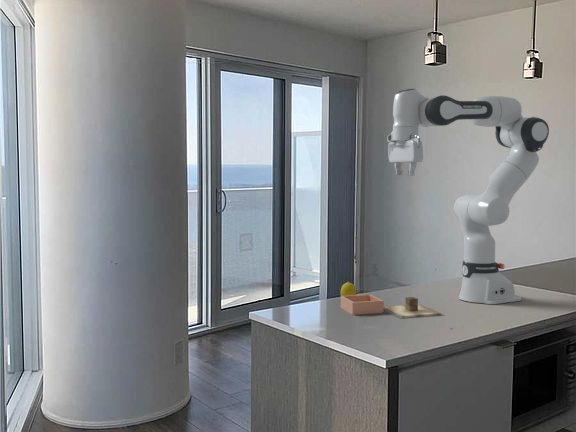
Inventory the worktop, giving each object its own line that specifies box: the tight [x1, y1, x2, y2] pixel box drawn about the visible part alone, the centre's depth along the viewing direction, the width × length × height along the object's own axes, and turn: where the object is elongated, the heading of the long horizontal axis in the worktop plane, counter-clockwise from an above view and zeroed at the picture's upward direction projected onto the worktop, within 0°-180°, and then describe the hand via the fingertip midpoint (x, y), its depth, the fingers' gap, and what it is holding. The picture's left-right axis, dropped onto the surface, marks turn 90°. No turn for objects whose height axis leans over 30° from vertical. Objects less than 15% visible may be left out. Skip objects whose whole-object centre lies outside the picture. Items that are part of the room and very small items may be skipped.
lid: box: [384, 296, 442, 319], centre depth 209 cm, size 14×14×5 cm
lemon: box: [340, 281, 357, 297], centre depth 226 cm, size 6×6×8 cm
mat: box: [383, 309, 446, 320], centre depth 209 cm, size 16×16×1 cm
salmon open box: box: [340, 293, 385, 316], centre depth 211 cm, size 11×11×5 cm
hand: (405, 175), depth 220 cm, fingers open, 8 cm apart
